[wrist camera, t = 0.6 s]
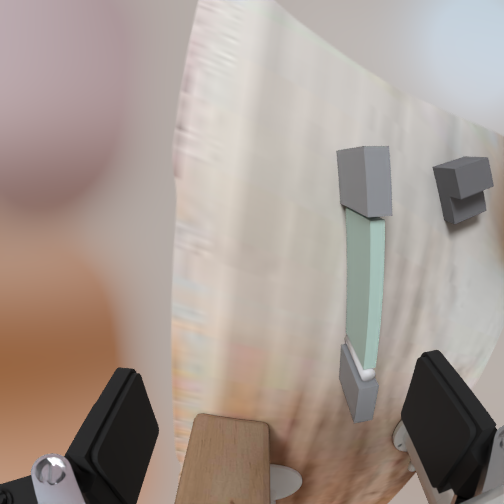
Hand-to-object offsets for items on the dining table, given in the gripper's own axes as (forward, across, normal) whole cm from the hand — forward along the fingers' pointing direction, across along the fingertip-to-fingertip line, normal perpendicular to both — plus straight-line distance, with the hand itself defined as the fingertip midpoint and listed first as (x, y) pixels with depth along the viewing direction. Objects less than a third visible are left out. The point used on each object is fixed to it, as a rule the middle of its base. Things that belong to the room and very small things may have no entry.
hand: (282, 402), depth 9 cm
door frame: (+22, -9, +5) cm, 24 cm away
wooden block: (+22, +6, +28) cm, 36 cm away
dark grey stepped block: (+22, -21, -5) cm, 31 cm away
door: (+21, -9, +5) cm, 23 cm away
